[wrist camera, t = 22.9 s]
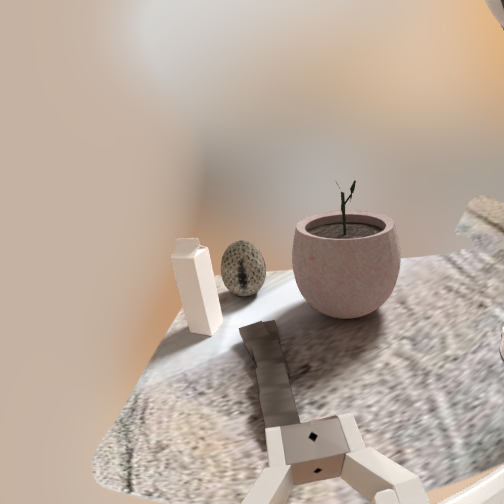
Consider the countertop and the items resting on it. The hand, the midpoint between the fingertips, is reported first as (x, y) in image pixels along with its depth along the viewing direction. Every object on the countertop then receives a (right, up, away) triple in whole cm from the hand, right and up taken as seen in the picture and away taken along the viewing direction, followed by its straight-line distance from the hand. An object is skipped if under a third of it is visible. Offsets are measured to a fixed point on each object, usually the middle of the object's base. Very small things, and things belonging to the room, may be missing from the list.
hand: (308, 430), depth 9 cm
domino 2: (+1, -14, +47) cm, 49 cm away
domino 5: (+3, -20, +28) cm, 35 cm away
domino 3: (+2, -16, +41) cm, 44 cm away
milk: (-12, -12, +60) cm, 63 cm away
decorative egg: (-3, -5, +73) cm, 74 cm away
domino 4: (+2, -18, +34) cm, 39 cm away
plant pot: (+20, -7, +59) cm, 63 cm away
